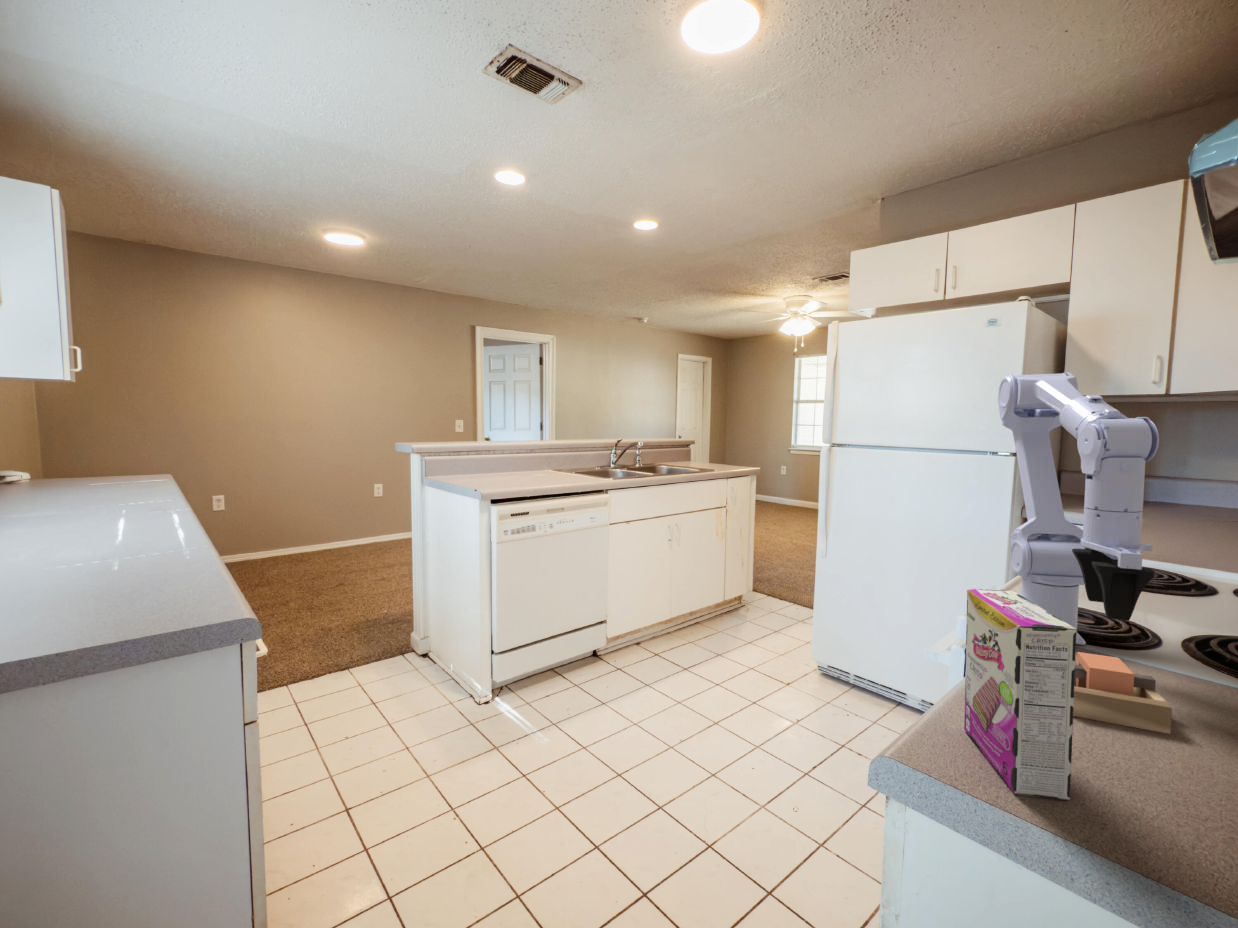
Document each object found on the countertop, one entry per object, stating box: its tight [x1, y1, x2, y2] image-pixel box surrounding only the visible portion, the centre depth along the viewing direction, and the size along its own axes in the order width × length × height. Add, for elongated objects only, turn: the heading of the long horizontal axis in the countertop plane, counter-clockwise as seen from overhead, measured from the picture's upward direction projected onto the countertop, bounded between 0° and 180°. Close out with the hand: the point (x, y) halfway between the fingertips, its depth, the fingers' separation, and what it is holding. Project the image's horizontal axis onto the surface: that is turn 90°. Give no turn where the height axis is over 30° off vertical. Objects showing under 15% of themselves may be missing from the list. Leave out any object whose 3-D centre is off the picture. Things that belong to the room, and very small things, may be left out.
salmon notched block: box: [1076, 651, 1134, 696], centre depth 66 cm, size 5×4×4 cm
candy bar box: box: [963, 588, 1078, 801], centre depth 54 cm, size 11×5×16 cm, turn 168°
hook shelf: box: [1073, 661, 1173, 735], centre depth 66 cm, size 10×9×4 cm
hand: (1107, 609), depth 72 cm, fingers open, 7 cm apart
